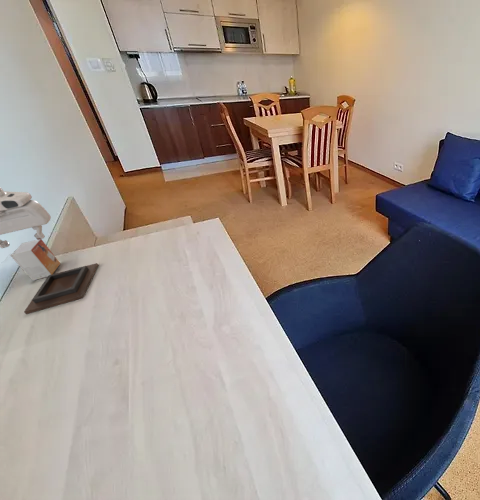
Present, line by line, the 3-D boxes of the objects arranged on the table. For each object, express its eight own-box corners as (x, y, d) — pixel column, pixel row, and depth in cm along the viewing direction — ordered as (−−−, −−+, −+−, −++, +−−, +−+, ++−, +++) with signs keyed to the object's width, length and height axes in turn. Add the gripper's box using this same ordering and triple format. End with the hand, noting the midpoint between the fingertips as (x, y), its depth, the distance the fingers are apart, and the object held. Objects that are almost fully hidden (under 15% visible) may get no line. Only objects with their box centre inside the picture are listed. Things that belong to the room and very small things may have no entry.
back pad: (26, 314, 86) (19, 308, 85) (50, 277, 100) (45, 272, 99) (82, 298, 90) (77, 292, 89) (98, 265, 104) (94, 259, 102)
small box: (52, 276, 101) (30, 250, 95) (32, 281, 100) (9, 255, 93) (61, 263, 107) (41, 238, 101) (42, 267, 106) (21, 242, 100)
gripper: (-63, 217, 83) (-22, 257, 92) (26, 199, 89) (57, 238, 97) (-48, 208, 88) (-11, 247, 96) (35, 191, 94) (64, 229, 102)
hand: (24, 242), depth 97 cm, fingers open, 8 cm apart
